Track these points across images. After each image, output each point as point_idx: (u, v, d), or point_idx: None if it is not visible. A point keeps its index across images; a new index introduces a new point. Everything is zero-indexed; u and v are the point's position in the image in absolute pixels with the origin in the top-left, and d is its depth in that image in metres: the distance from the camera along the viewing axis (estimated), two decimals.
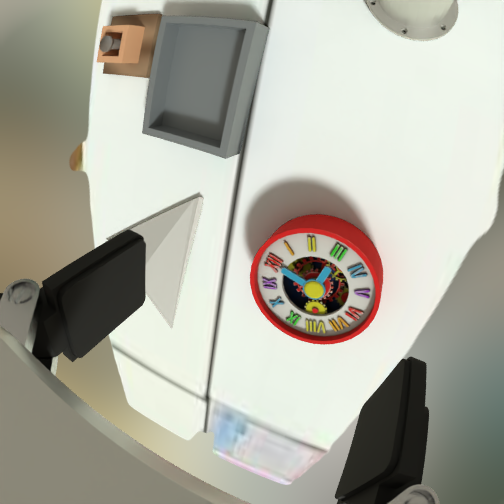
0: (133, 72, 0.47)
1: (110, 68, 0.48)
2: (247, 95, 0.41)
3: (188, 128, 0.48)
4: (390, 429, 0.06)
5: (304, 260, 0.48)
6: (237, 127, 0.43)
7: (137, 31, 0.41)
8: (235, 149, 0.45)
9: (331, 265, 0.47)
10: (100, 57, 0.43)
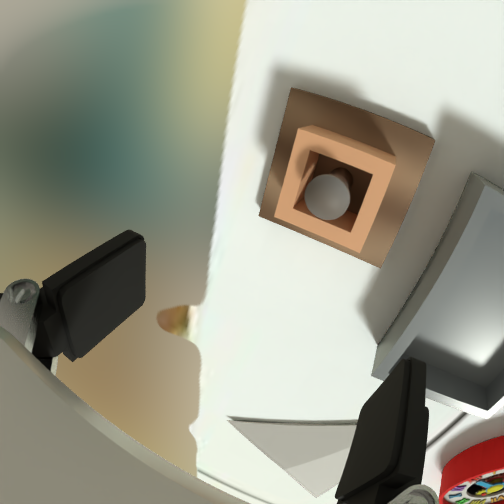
0: None
1: None
2: None
3: (436, 362, 0.28)
4: (390, 429, 0.06)
5: None
6: None
7: None
8: None
9: None
10: (288, 211, 0.24)
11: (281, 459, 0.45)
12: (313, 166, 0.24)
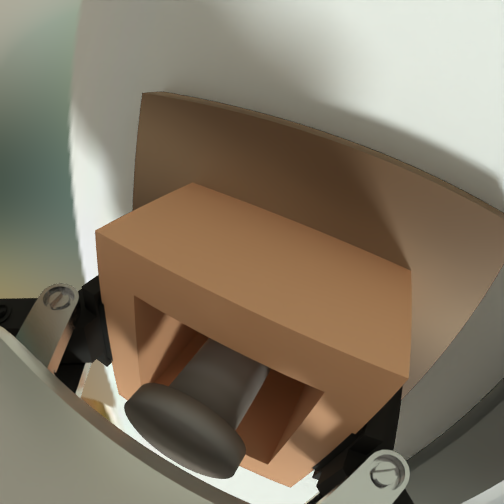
0: None
1: None
2: None
3: None
4: None
5: None
6: None
7: None
8: None
9: None
10: None
11: None
12: None
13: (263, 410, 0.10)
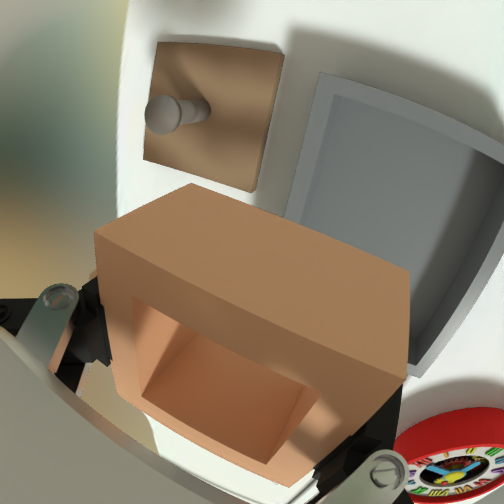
0: (218, 174, 0.27)
1: (160, 153, 0.29)
2: None
3: None
4: None
5: None
6: None
7: None
8: None
9: None
10: (135, 397, 0.10)
11: None
12: None
13: (262, 410, 0.10)
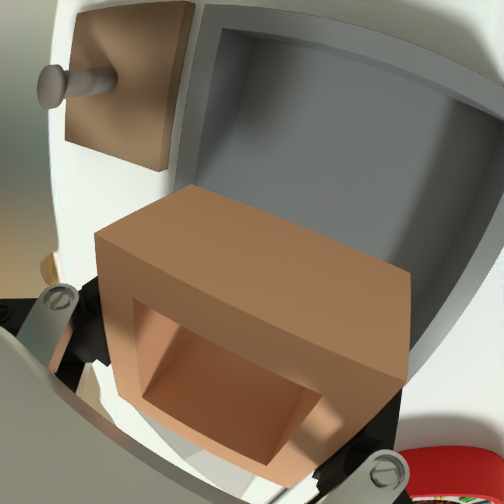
0: (126, 151, 0.21)
1: (77, 132, 0.23)
2: None
3: None
4: None
5: None
6: None
7: None
8: None
9: None
10: (136, 398, 0.10)
11: (177, 446, 0.38)
12: None
13: (262, 411, 0.10)
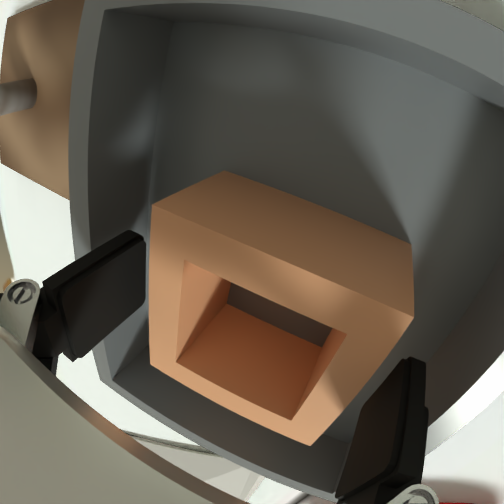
0: (49, 179, 0.16)
1: (9, 154, 0.18)
2: None
3: None
4: (390, 429, 0.06)
5: None
6: None
7: None
8: None
9: None
10: (169, 364, 0.11)
11: None
12: None
13: (284, 373, 0.11)
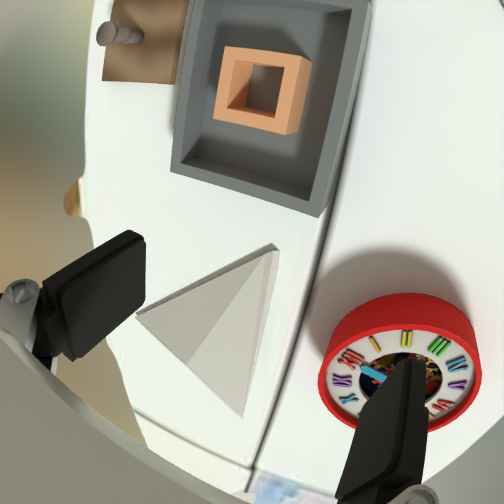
0: (148, 77, 0.32)
1: (112, 73, 0.34)
2: (348, 116, 0.25)
3: (244, 163, 0.32)
4: (390, 429, 0.06)
5: None
6: (334, 167, 0.27)
7: (306, 70, 0.24)
8: (326, 200, 0.30)
9: (421, 355, 0.32)
10: (223, 111, 0.27)
11: (180, 350, 0.47)
12: (245, 80, 0.27)
13: (271, 115, 0.27)
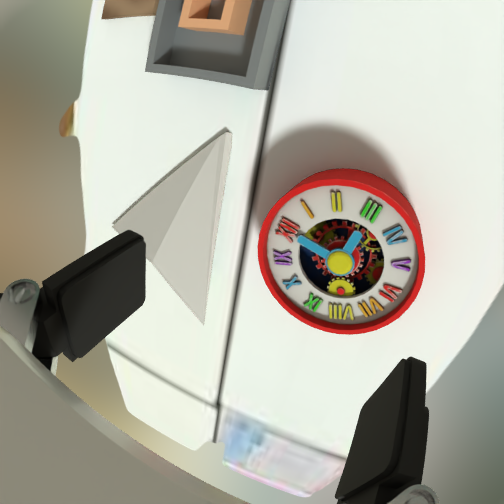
0: (137, 11, 0.35)
1: (110, 12, 0.36)
2: (279, 18, 0.29)
3: (202, 64, 0.36)
4: (390, 429, 0.06)
5: (326, 226, 0.38)
6: (267, 53, 0.30)
7: None
8: (264, 82, 0.33)
9: (360, 231, 0.36)
10: (185, 20, 0.30)
11: (147, 247, 0.51)
12: (205, 3, 0.30)
13: None
